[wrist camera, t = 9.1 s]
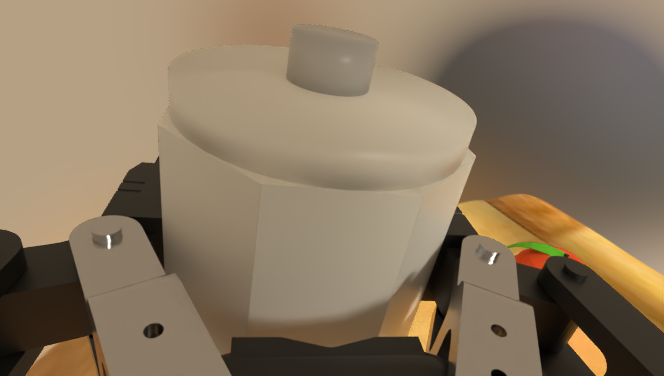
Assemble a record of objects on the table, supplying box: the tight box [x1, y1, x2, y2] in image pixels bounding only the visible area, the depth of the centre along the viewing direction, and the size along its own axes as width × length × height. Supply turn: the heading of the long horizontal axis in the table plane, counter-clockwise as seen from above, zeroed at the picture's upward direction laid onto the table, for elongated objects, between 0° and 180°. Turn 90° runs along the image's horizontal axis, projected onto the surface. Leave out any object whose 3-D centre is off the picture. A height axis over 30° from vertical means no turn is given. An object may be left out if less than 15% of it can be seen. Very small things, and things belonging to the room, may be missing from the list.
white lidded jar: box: [158, 24, 476, 355], centre depth 11 cm, size 6×6×11 cm
